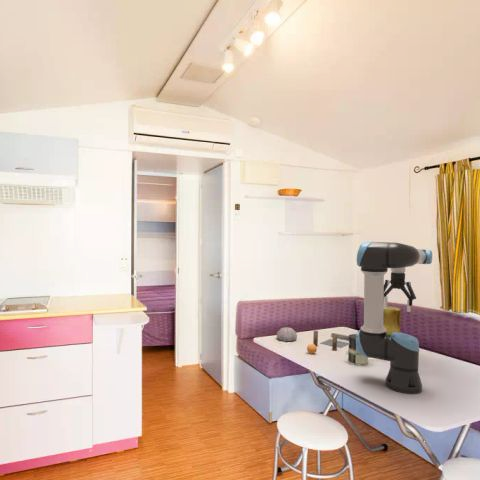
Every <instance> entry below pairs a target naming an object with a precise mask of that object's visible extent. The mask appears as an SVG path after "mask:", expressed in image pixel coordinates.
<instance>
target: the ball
mask: <svg viewBox="0 0 480 480" xmlns="http://www.w3.org/2000/svg"><path fill="white" fill-rule="evenodd" d="M317 347H318V346H315V345H314V344H313V343H309V344H308V345H307V347H306V350H307V352H308V354H311V355H313V354H316V352H317V350H318V349H317Z"/></svg>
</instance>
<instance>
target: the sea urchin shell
mask: <svg viewBox="0 0 480 480" xmlns="http://www.w3.org/2000/svg"><path fill="white" fill-rule="evenodd" d="M276 338H277V339H278V340H279V341H282V342H292V341H295V340H297V339H298V334H297V331H295V330H294V329H293V328H292V327H288V326H285V327H281V328H280V329H279V330H278V331H277V332H276Z"/></svg>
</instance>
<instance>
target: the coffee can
mask: <svg viewBox="0 0 480 480" xmlns="http://www.w3.org/2000/svg"><path fill="white" fill-rule="evenodd" d="M356 334H357V333H351V334H349V335H348V336H349V341H348V343H349V344H348V351H347V356H348V357H347V362H348V364H351V365H353V366H359V367H360V366H361V367H364V366H368V364H369V362H368V361H369V360H368V359H369V358H368V357H366V356H362V355H360V354H359V352H358V350H357V347H356Z"/></svg>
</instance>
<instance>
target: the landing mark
mask: <svg viewBox="0 0 480 480" xmlns="http://www.w3.org/2000/svg"><path fill="white" fill-rule="evenodd" d="M332 341H333V338H332V339H331V338H329V339H326V340H323V341H321V342H319V344H321V345H325V346H329V347H330V346H331V347H332ZM346 346H349V342H348V341H347V342H345V341H341V340H337V348H338V349H341V348H344V347H346Z"/></svg>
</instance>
